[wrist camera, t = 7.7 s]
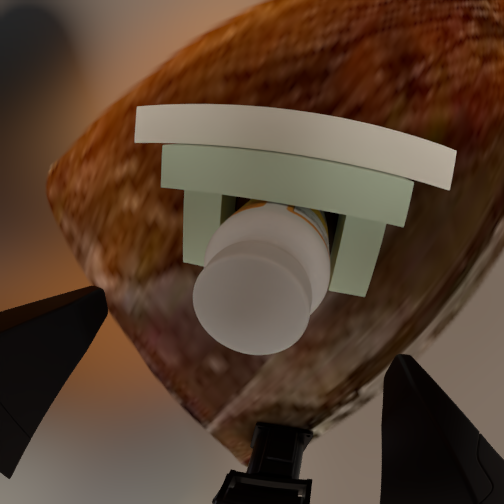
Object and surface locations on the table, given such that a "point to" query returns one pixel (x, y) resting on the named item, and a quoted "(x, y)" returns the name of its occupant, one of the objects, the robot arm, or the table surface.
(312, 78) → the table surface
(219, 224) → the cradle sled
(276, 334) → the supplement bottle
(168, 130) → the backstop wall
